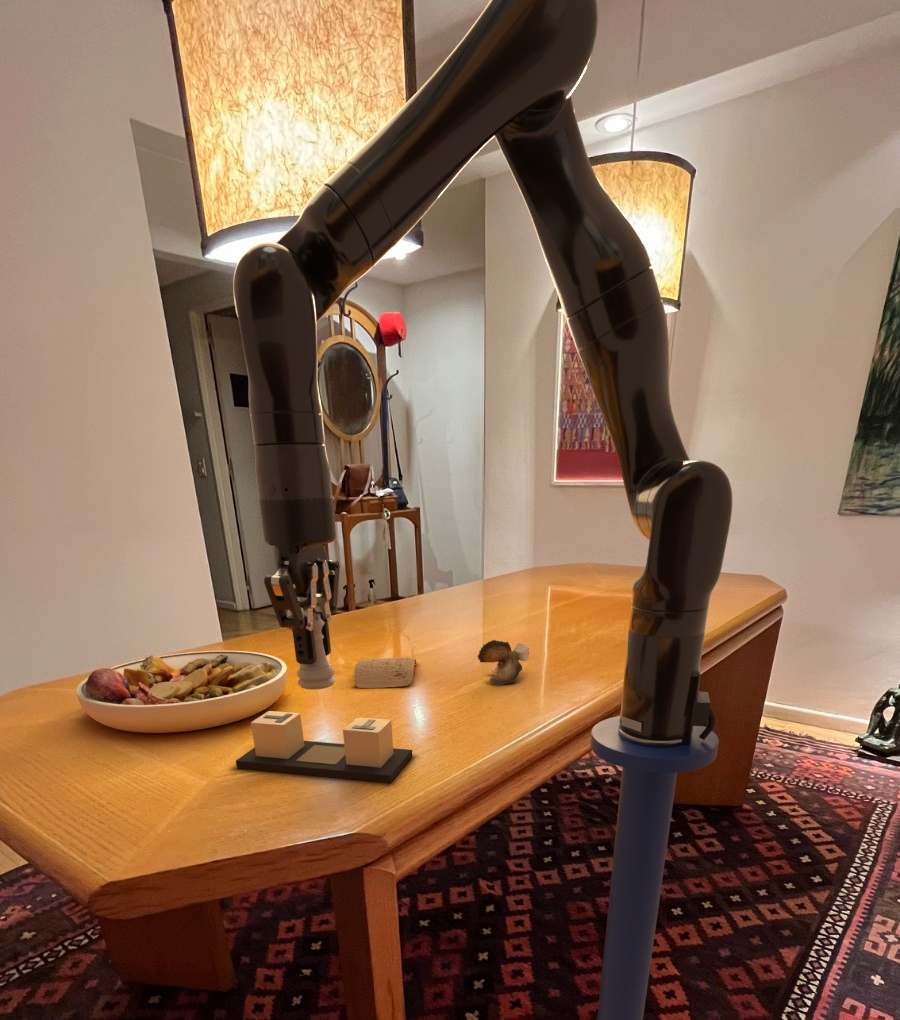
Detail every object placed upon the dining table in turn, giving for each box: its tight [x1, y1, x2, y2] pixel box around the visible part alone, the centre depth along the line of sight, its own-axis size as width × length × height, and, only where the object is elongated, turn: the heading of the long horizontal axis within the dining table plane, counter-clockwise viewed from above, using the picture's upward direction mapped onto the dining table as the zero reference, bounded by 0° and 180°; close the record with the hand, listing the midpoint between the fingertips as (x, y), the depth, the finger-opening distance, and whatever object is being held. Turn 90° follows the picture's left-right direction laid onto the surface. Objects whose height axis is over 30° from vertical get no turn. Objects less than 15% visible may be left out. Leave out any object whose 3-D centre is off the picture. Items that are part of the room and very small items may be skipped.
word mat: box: [235, 740, 413, 784], centre depth 83 cm, size 20×8×1 cm, turn 75°
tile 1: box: [250, 710, 305, 759], centre depth 83 cm, size 4×4×4 cm
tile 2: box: [342, 717, 394, 768], centre depth 80 cm, size 4×4×4 cm
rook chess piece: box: [296, 613, 337, 691], centre depth 77 cm, size 4×4×8 cm
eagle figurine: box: [477, 639, 530, 686], centre depth 113 cm, size 8×7×9 cm
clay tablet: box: [353, 657, 417, 689], centre depth 117 cm, size 14×10×3 cm
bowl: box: [75, 650, 288, 734], centre depth 103 cm, size 30×30×8 cm
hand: (314, 658), depth 77 cm, fingers closed on rook chess piece, 3 cm apart
